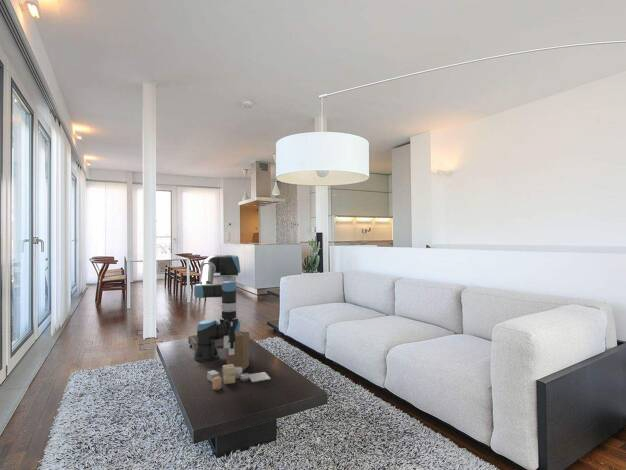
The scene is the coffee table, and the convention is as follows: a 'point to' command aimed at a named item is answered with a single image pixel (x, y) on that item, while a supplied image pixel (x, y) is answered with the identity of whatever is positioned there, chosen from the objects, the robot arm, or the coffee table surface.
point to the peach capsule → (217, 383)
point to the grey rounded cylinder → (238, 372)
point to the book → (194, 342)
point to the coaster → (258, 377)
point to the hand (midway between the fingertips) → (228, 351)
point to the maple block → (228, 374)
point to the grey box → (212, 375)
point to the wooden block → (240, 351)
